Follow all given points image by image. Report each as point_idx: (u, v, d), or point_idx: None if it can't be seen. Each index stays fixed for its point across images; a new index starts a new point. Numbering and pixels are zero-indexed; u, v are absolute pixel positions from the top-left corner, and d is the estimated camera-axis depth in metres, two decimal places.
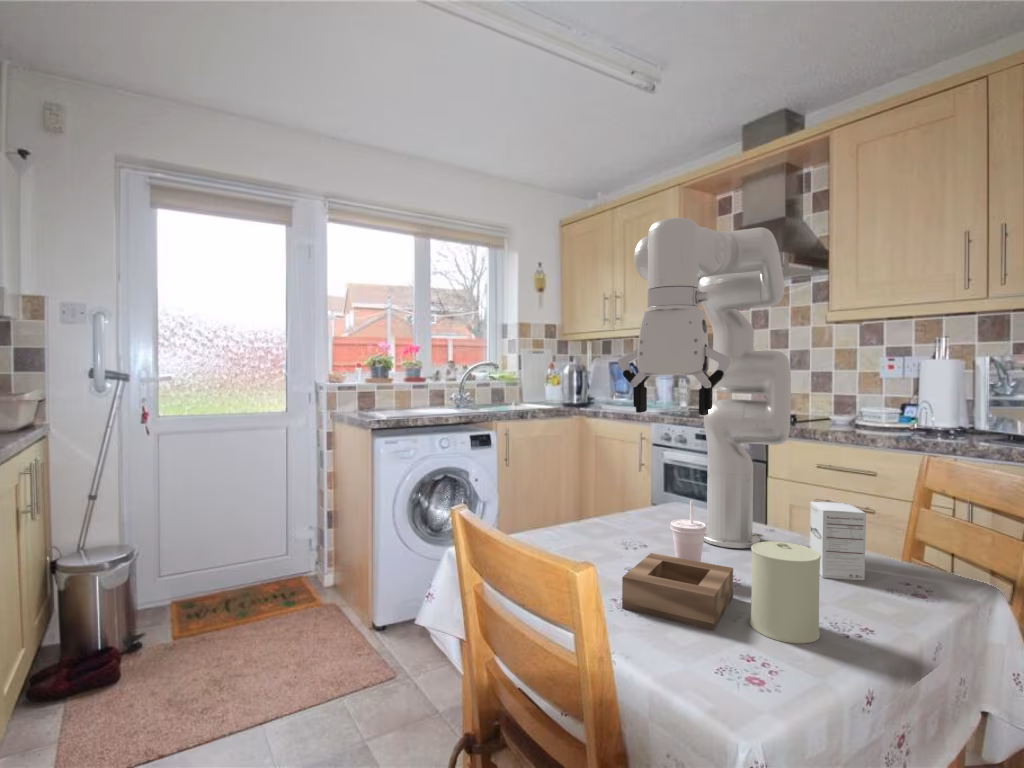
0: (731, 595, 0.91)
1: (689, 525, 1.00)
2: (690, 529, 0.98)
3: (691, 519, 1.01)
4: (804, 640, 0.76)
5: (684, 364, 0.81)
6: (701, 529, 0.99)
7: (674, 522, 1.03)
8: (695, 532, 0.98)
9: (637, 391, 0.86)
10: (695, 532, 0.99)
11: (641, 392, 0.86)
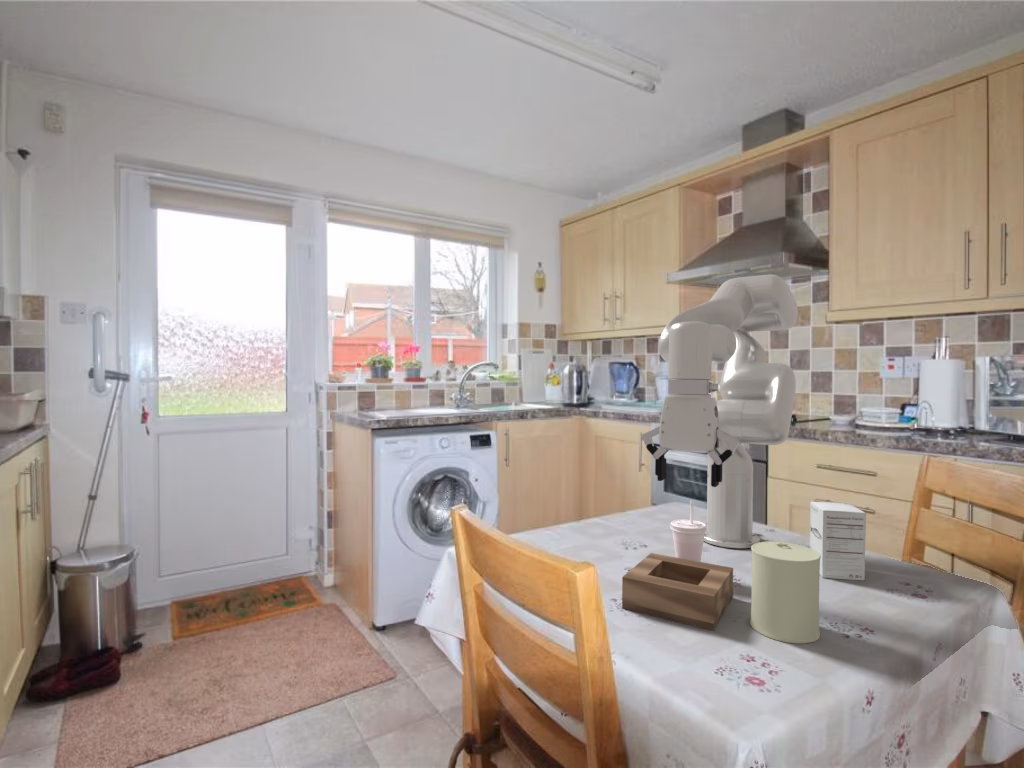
0: (731, 595, 0.91)
1: (689, 525, 1.00)
2: (690, 529, 0.98)
3: (691, 519, 1.01)
4: (804, 640, 0.76)
5: (699, 444, 0.98)
6: (701, 529, 0.99)
7: (674, 522, 1.03)
8: (695, 532, 0.98)
9: (658, 463, 1.02)
10: (695, 532, 0.99)
11: (662, 464, 1.02)
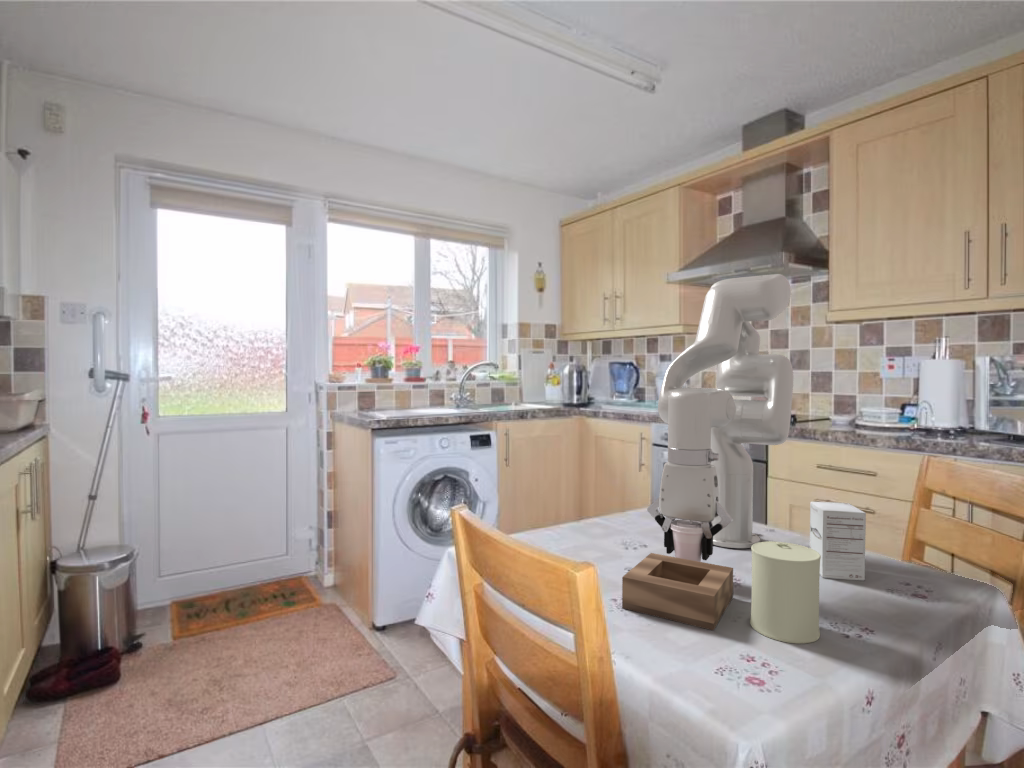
0: (731, 595, 0.91)
1: (689, 525, 1.00)
2: (690, 529, 0.98)
3: None
4: (804, 640, 0.76)
5: (699, 513, 0.98)
6: (701, 529, 0.99)
7: (674, 522, 1.03)
8: (695, 532, 0.98)
9: (667, 536, 1.02)
10: (695, 532, 0.99)
11: (671, 536, 1.02)
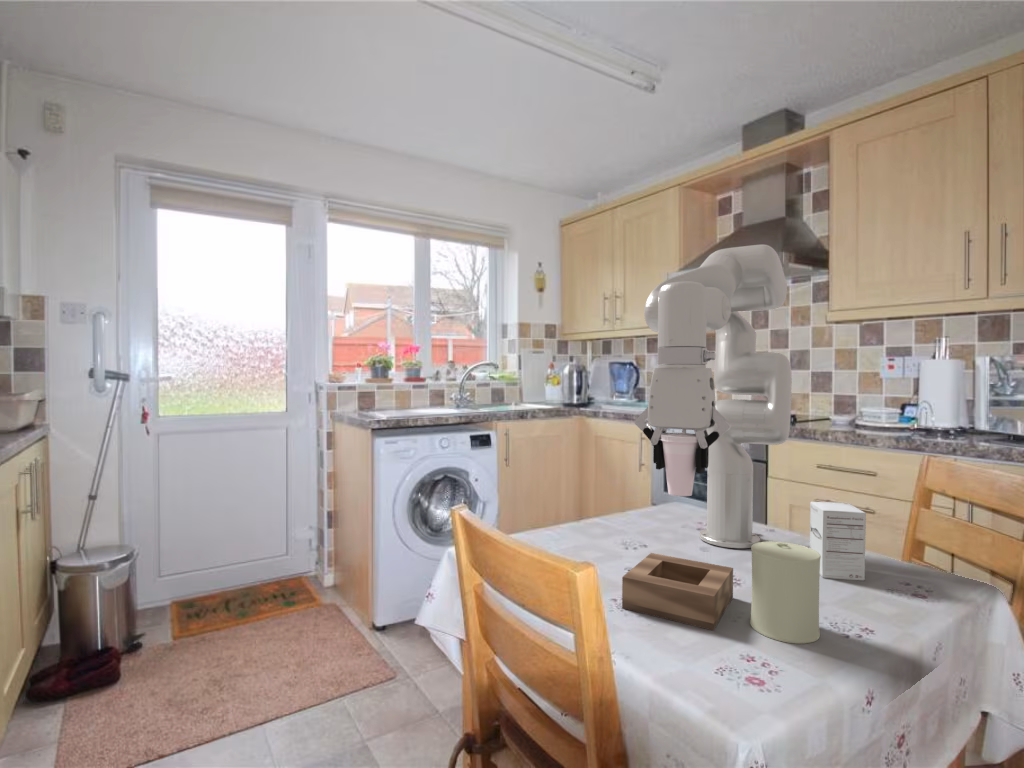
0: (731, 595, 0.91)
1: (681, 435, 0.88)
2: (682, 437, 0.86)
3: (684, 429, 0.89)
4: (804, 640, 0.76)
5: (693, 420, 0.86)
6: (695, 438, 0.87)
7: (664, 434, 0.91)
8: (688, 441, 0.86)
9: (657, 449, 0.90)
10: (688, 441, 0.87)
11: (661, 450, 0.90)
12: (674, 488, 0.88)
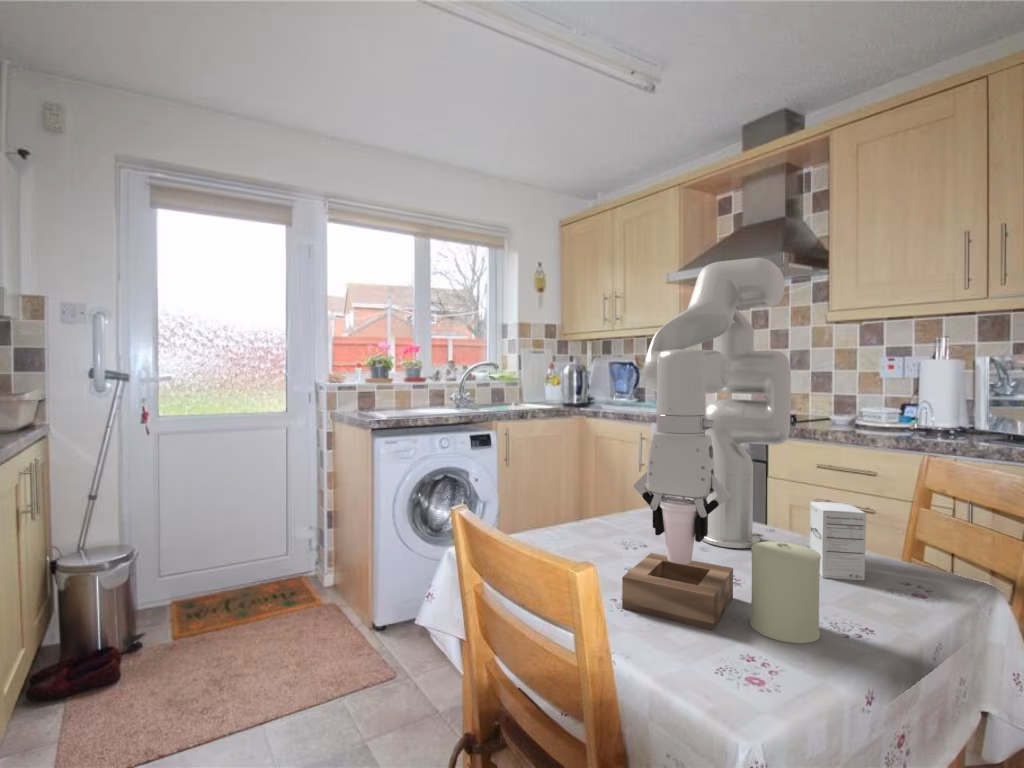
0: (731, 595, 0.91)
1: (680, 502, 0.88)
2: (681, 506, 0.86)
3: None
4: (804, 640, 0.76)
5: (692, 489, 0.86)
6: (694, 506, 0.87)
7: (664, 499, 0.90)
8: (687, 510, 0.86)
9: (656, 515, 0.90)
10: (687, 510, 0.86)
11: (660, 516, 0.90)
12: (673, 556, 0.88)
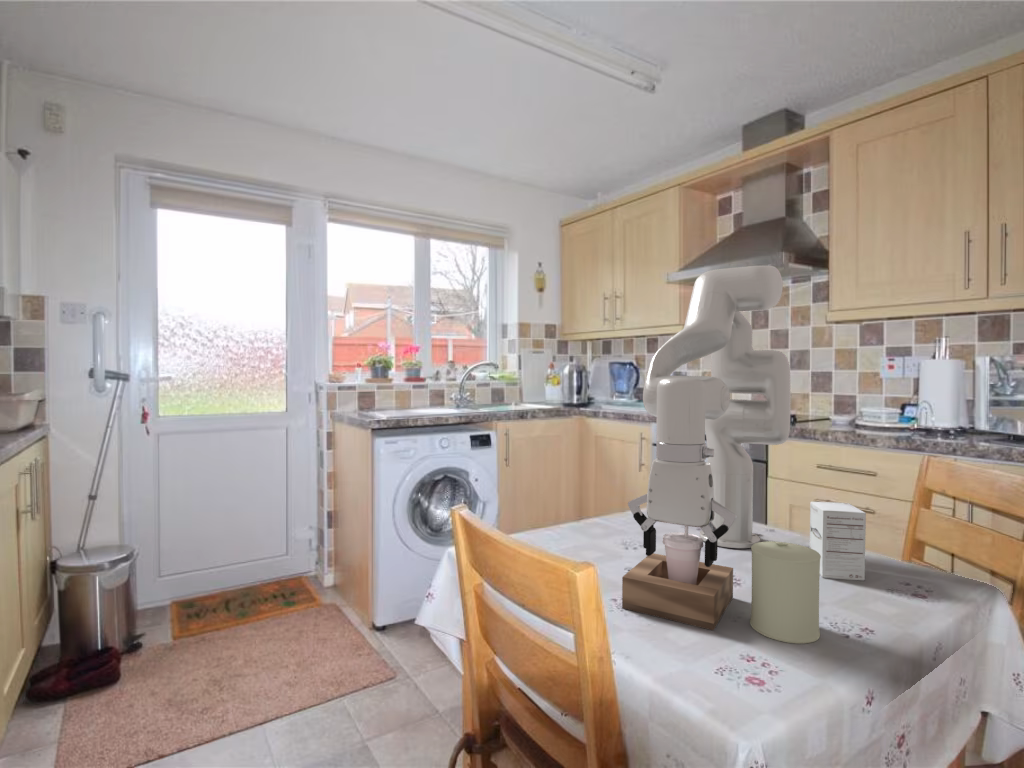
0: (731, 595, 0.91)
1: (684, 539, 0.88)
2: (685, 544, 0.86)
3: (686, 532, 0.89)
4: (804, 640, 0.76)
5: (692, 517, 0.86)
6: (698, 544, 0.87)
7: (667, 536, 0.90)
8: (691, 548, 0.86)
9: (647, 536, 0.91)
10: (691, 548, 0.86)
11: (651, 536, 0.91)
12: None
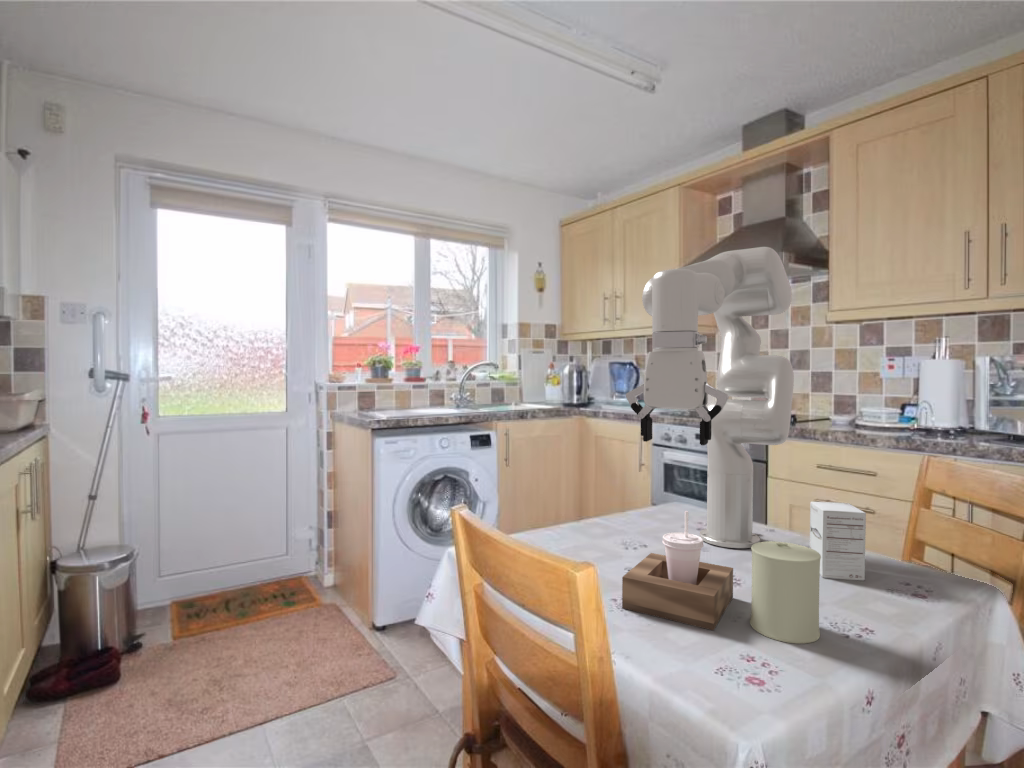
0: (731, 595, 0.91)
1: (684, 539, 0.88)
2: (685, 544, 0.86)
3: (686, 532, 0.89)
4: (804, 640, 0.76)
5: (686, 400, 0.91)
6: (698, 544, 0.87)
7: (666, 536, 0.90)
8: (691, 548, 0.86)
9: (644, 422, 0.96)
10: (691, 548, 0.86)
11: (647, 423, 0.96)
12: None
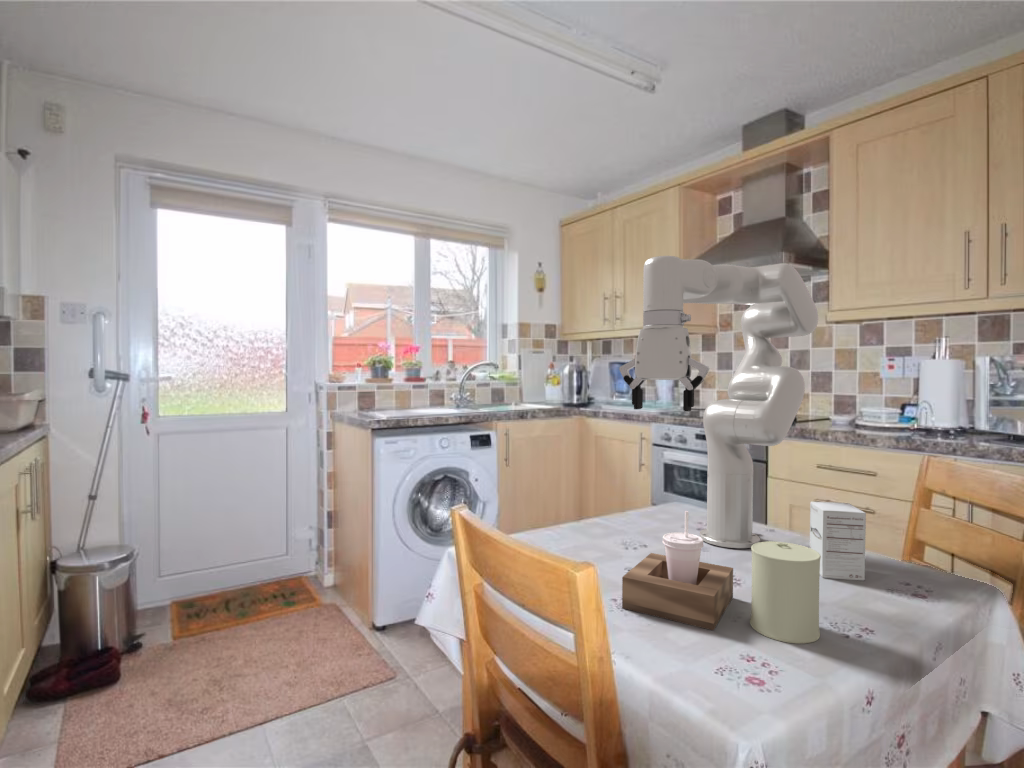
0: (731, 595, 0.91)
1: (684, 539, 0.88)
2: (685, 544, 0.86)
3: (686, 532, 0.89)
4: (804, 640, 0.76)
5: (672, 371, 1.03)
6: (698, 544, 0.87)
7: (667, 536, 0.90)
8: (691, 548, 0.86)
9: (635, 392, 1.08)
10: (691, 548, 0.86)
11: (638, 393, 1.08)
12: None
